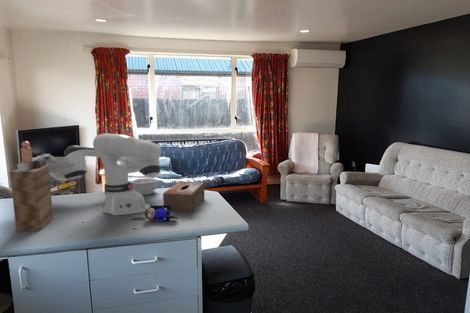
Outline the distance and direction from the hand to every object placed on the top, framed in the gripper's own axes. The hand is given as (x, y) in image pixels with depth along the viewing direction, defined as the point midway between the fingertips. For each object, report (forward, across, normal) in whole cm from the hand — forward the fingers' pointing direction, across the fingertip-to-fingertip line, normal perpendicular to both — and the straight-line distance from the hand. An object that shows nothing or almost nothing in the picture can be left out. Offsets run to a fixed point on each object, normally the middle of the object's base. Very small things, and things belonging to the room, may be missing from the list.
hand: (44, 157), depth 167 cm
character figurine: (+3, -56, -35) cm, 66 cm away
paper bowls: (-40, -44, -10) cm, 60 cm away
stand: (0, 0, -33) cm, 33 cm away
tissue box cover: (-16, -67, -24) cm, 73 cm away
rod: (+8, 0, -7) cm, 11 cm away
